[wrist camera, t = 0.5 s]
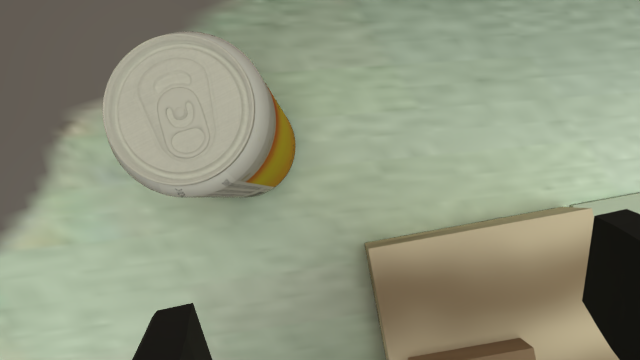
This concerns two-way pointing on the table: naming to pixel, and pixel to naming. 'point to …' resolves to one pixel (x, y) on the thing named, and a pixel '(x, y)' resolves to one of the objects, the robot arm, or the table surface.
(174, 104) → the beer can
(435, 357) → the walnut tile
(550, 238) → the birch deck
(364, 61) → the table surface
